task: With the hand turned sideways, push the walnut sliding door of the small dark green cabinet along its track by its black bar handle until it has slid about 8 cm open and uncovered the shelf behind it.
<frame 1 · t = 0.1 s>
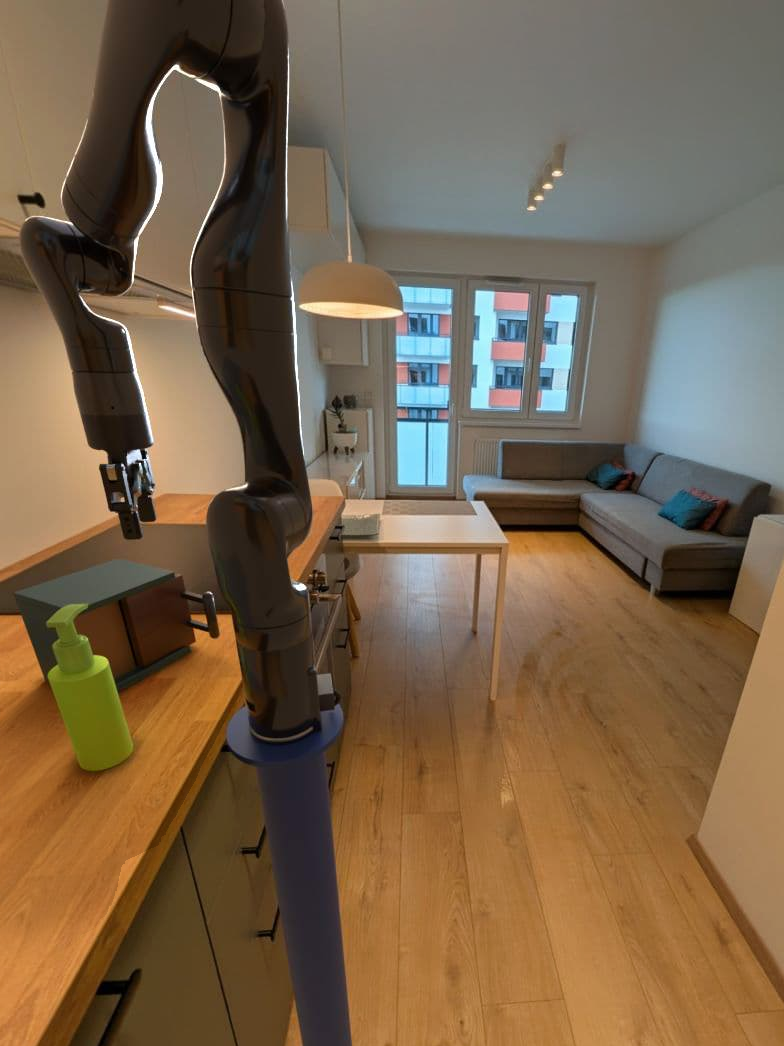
hand: (141, 529, 73), 24 cm above the worktop, tool pointing down, fingers open, 8 cm apart
soap dispenser: (109, 752, 65), on the worktop
cabinet: (115, 663, 84), on the worktop
sliding door: (175, 624, 82), point 7 cm above the worktop, slide at 0.0 cm
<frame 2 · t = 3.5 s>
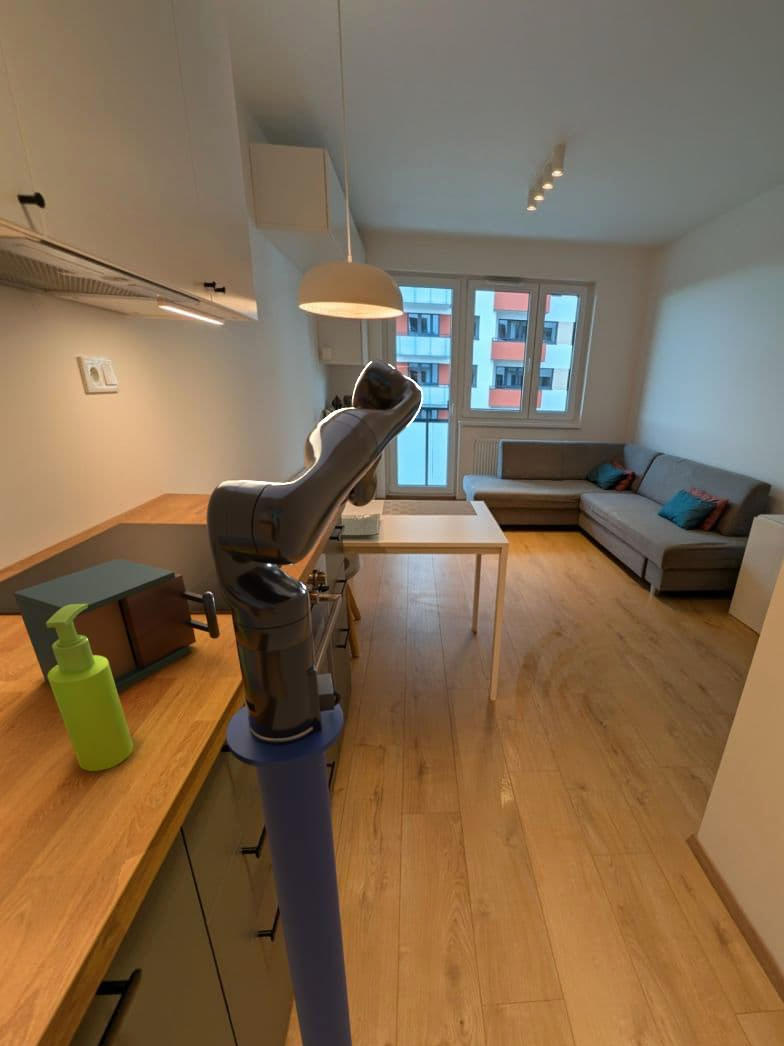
hand: (248, 523, 88), 20 cm above the worktop, tool horizontal, fingers closed
nothing on the worktop moved.
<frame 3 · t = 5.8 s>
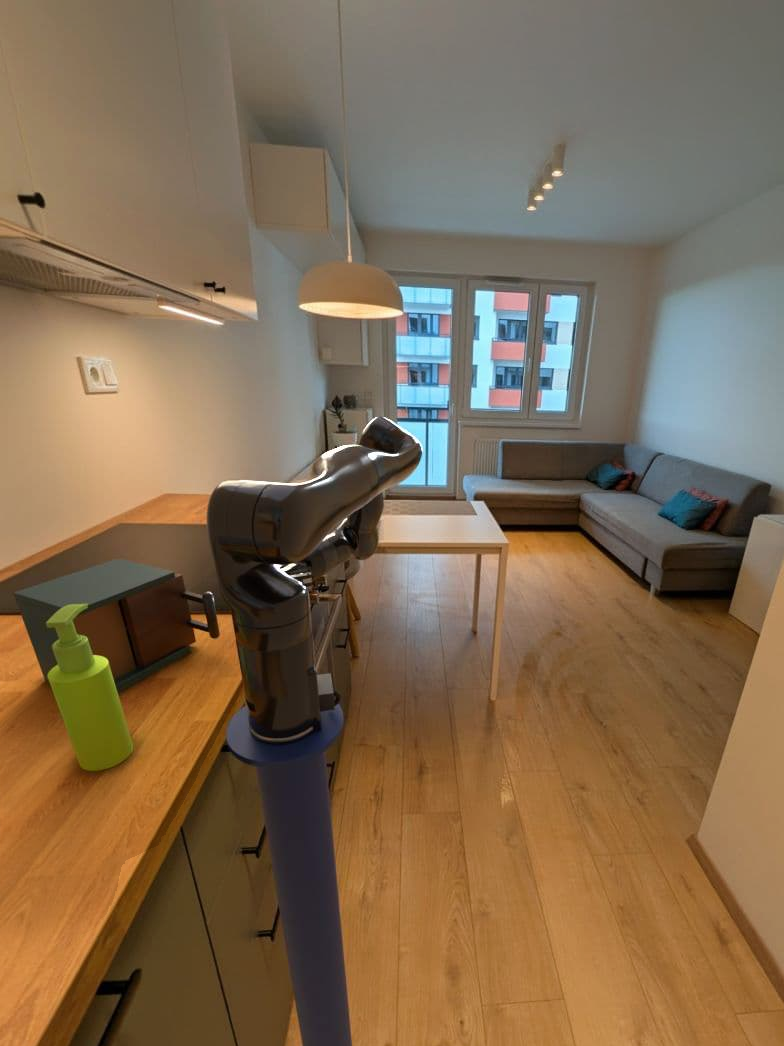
hand: (252, 590, 92), 8 cm above the worktop, tool horizontal, fingers closed
nothing on the worktop moved.
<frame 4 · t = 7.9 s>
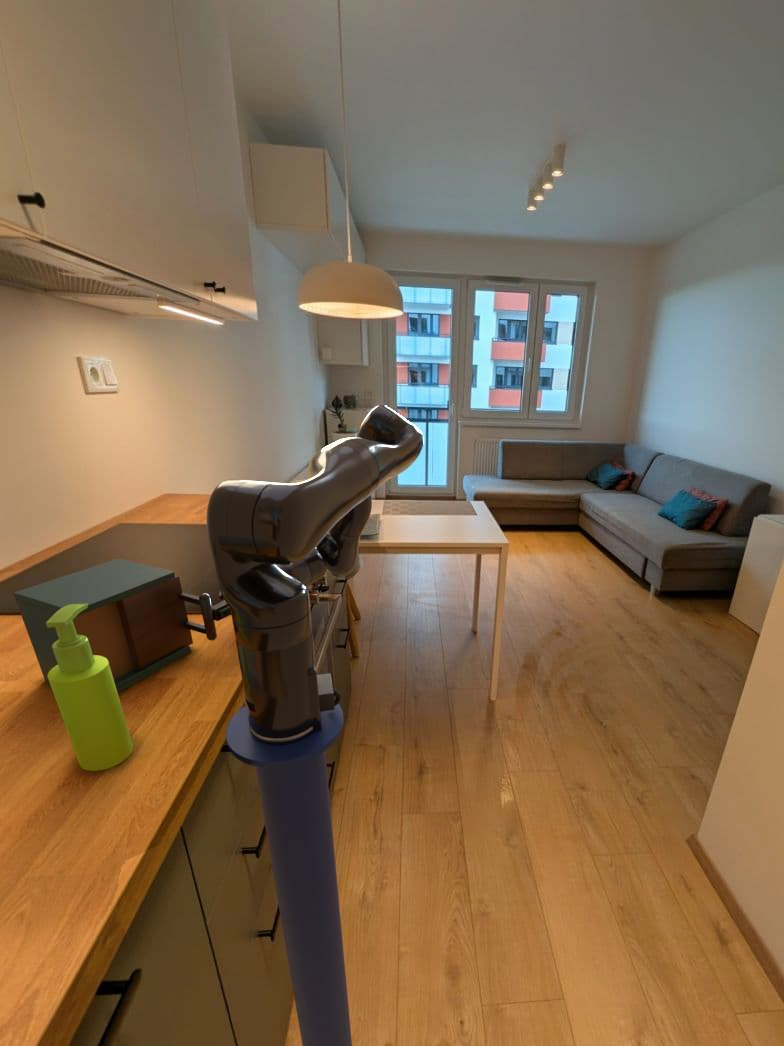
hand: (212, 615, 84), 8 cm above the worktop, tool horizontal, fingers closed
sliding door: (172, 625, 81), point 7 cm above the worktop, slide at 0.6 cm, touching gripper
everything else where it was.
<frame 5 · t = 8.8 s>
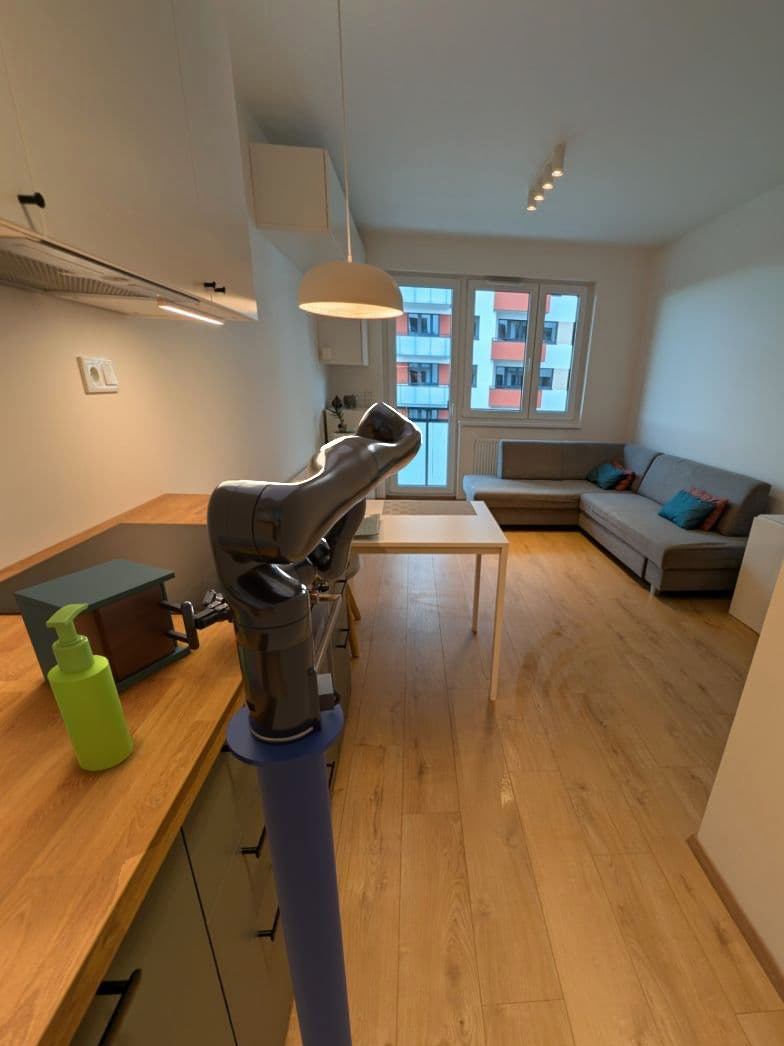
hand: (194, 624, 81), 8 cm above the worktop, tool horizontal, fingers closed
sliding door: (152, 635, 78), point 7 cm above the worktop, slide at 4.2 cm, touching gripper
everything else where it was.
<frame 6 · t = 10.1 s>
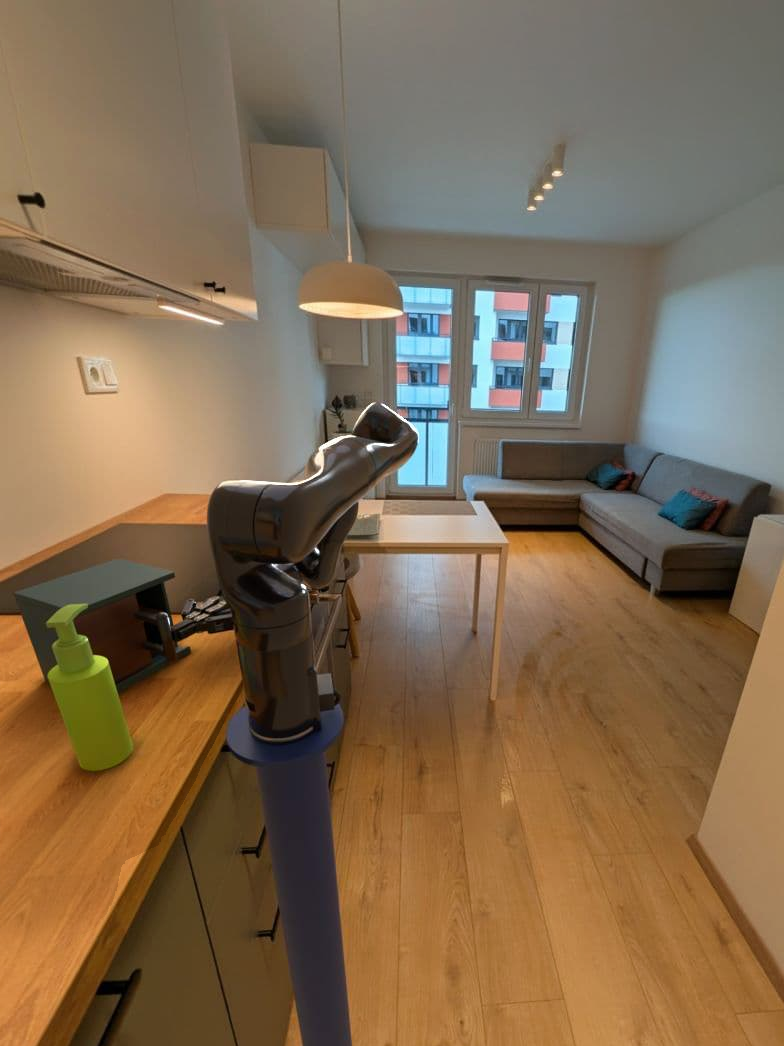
hand: (171, 635, 78), 8 cm above the worktop, tool horizontal, fingers closed
sliding door: (126, 648, 75), point 7 cm above the worktop, slide at 8.5 cm, touching gripper
everything else where it was.
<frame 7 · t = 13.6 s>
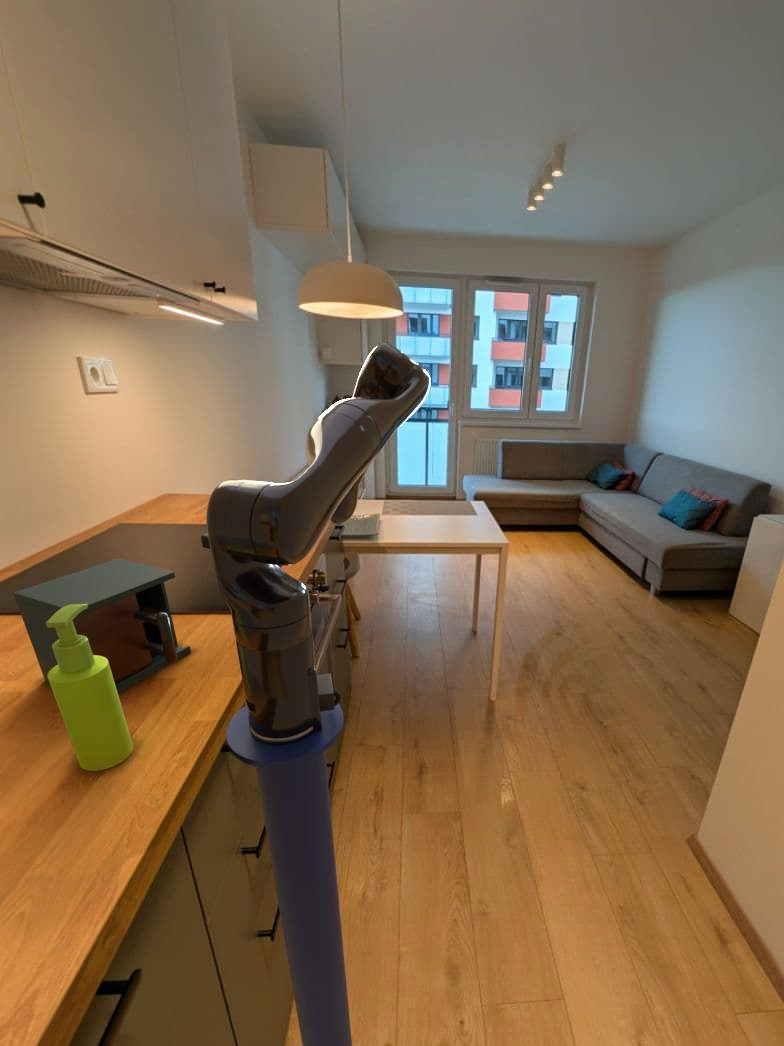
hand: (205, 542, 80), 20 cm above the worktop, tool horizontal, fingers closed
sliding door: (126, 648, 75), point 7 cm above the worktop, slide at 8.5 cm
everything else where it was.
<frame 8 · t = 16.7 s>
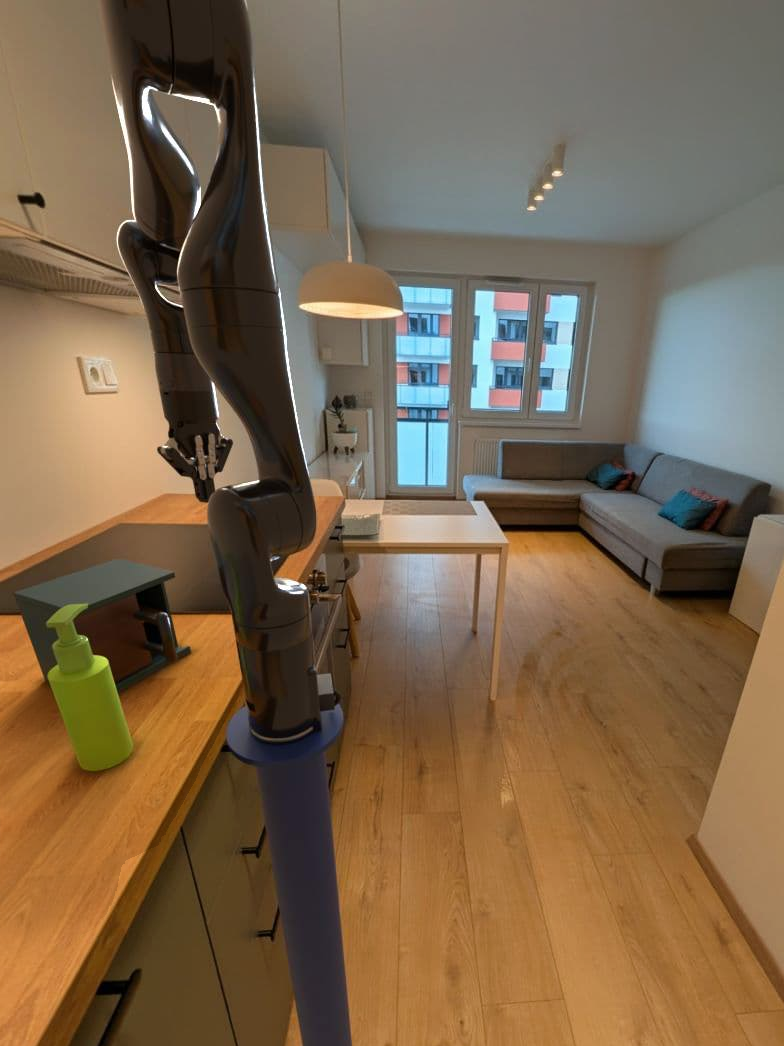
hand: (206, 501, 83), 25 cm above the worktop, tool pointing down, fingers closed
nothing on the worktop moved.
at the end: sliding door slide at 8.5 cm; soap dispenser moved 0.2 cm from its start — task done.
